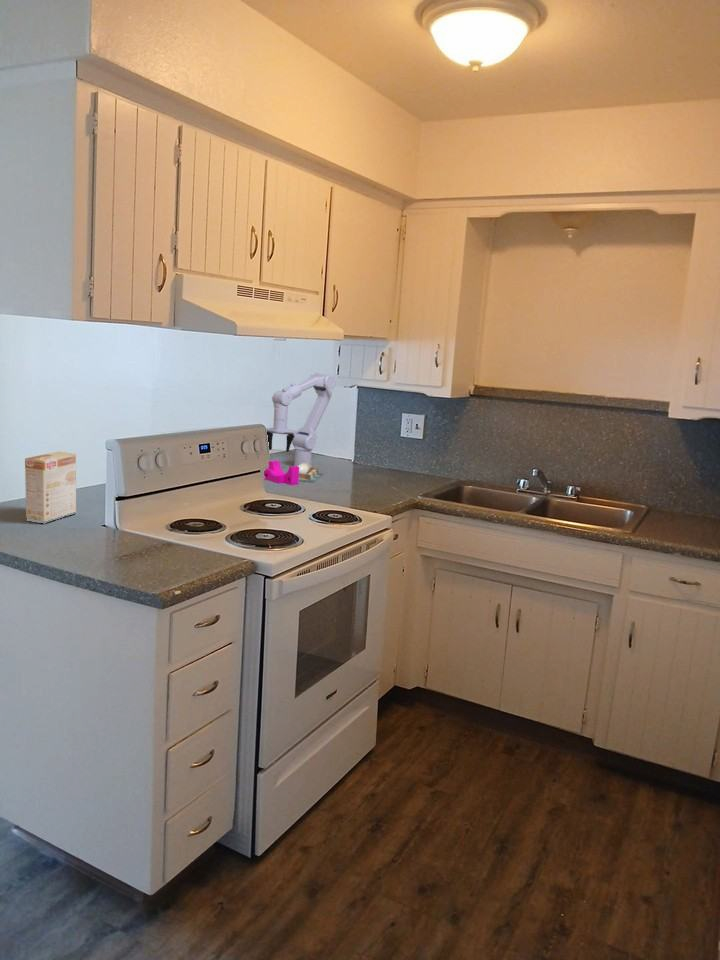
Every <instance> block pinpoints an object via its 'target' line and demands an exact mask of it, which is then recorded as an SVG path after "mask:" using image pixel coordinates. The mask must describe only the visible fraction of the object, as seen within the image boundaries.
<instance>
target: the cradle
mask: <svg viewBox="0 0 720 960" xmlns="http://www.w3.org/2000/svg"><path fill="white" fill-rule="evenodd" d="M296 466H299V465H296ZM287 472H288V471H285V474H286V473H287ZM322 474H323V475H324V472H319V467H318V466H317V467H316V466H313V467H311V471H310V472H309V473H307V474H305V473H299V482H303V481H304V482H303V483H314V482H316V481H317V480H318V479H319V478H321V476H322ZM318 477H319V478H318ZM317 478H318V479H317ZM316 479H317V480H316ZM315 480H316V481H315Z"/></svg>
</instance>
